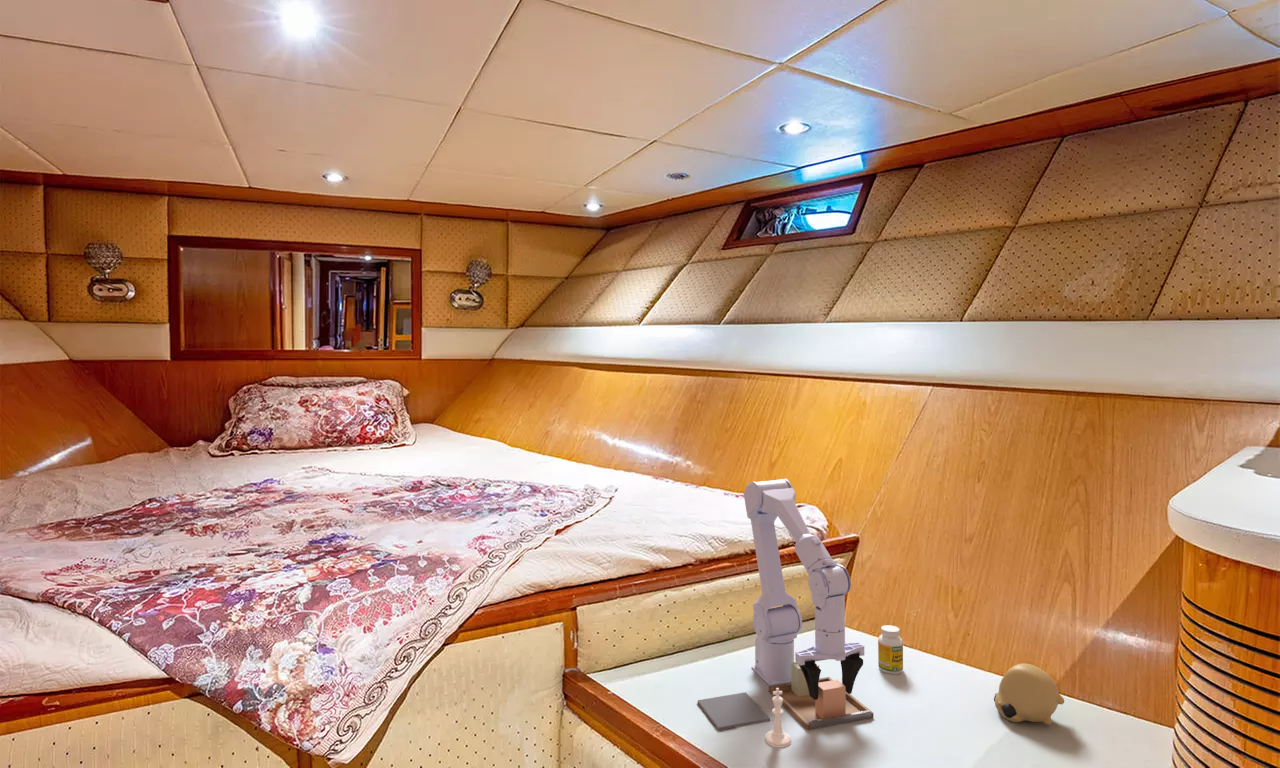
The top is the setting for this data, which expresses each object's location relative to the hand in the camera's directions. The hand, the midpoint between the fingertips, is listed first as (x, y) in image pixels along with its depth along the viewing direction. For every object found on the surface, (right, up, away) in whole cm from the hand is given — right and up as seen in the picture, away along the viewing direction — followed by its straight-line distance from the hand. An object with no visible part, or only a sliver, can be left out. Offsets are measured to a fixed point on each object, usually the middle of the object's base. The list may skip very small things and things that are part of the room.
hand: (830, 694), depth 134 cm
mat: (-19, -5, +2) cm, 20 cm away
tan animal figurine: (+38, -4, -2) cm, 38 cm away
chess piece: (-12, -5, -9) cm, 16 cm away
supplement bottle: (+19, -4, +20) cm, 28 cm away
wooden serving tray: (-1, -4, +4) cm, 6 cm away
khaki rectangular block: (-3, -4, +10) cm, 11 cm away
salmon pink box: (0, -4, 0) cm, 4 cm away
